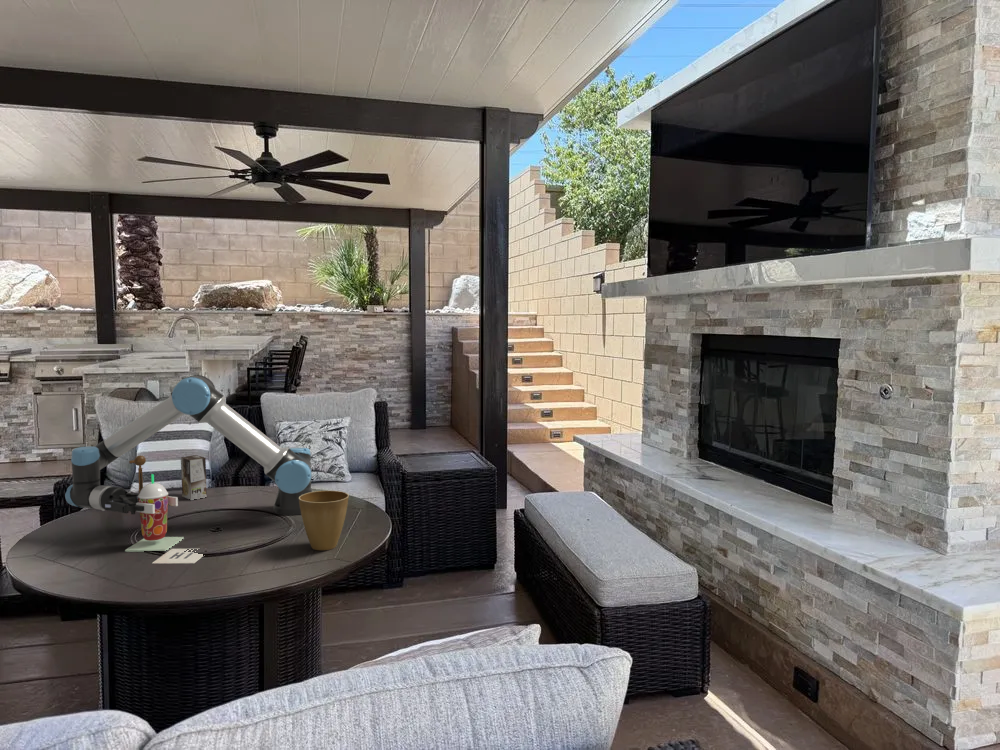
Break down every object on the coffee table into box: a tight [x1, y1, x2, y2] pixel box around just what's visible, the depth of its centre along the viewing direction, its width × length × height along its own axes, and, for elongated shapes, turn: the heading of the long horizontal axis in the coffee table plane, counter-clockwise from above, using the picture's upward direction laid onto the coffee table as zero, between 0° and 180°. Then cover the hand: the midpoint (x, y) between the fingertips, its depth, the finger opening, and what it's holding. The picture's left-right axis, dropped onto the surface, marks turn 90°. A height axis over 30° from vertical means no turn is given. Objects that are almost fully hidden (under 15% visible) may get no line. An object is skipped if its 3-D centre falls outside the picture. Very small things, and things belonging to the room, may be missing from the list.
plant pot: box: [299, 490, 350, 551], centre depth 203 cm, size 15×15×16 cm
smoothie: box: [137, 473, 169, 541], centre depth 203 cm, size 8×8×20 cm
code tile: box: [151, 548, 204, 565], centre depth 195 cm, size 12×12×1 cm
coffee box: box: [180, 454, 208, 501], centre depth 260 cm, size 9×6×16 cm
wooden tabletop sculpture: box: [128, 455, 147, 503], centre depth 244 cm, size 6×5×20 cm
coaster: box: [124, 536, 185, 553], centre depth 204 cm, size 12×12×1 cm
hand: (165, 505), depth 202 cm, fingers closed on smoothie, 8 cm apart
